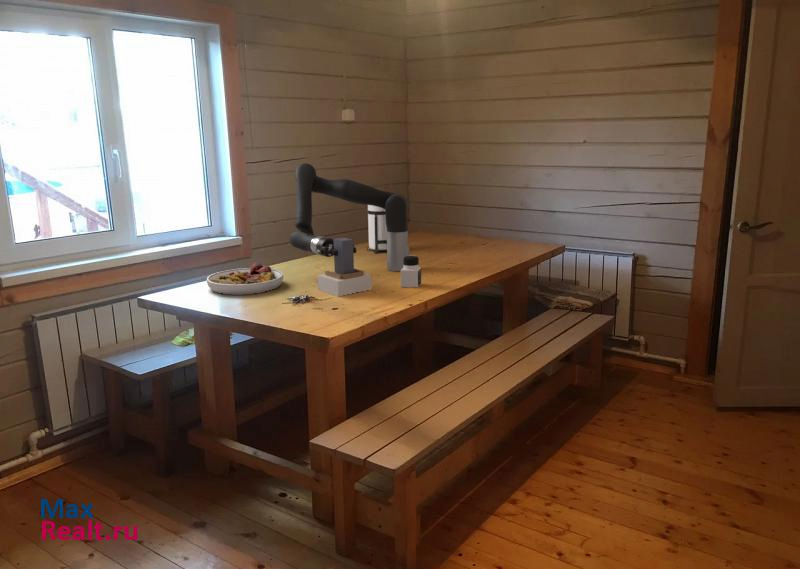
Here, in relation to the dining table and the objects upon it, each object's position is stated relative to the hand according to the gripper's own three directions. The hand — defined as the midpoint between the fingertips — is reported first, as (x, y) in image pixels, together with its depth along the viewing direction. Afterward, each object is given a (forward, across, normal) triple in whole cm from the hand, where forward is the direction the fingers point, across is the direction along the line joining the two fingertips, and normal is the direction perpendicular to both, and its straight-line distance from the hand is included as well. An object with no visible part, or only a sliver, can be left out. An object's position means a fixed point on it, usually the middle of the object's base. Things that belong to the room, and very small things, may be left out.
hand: (346, 251), depth 259 cm
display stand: (-2, 0, +16) cm, 16 cm away
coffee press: (-55, +60, +16) cm, 83 cm away
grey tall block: (-2, 0, +9) cm, 9 cm away
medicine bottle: (+10, +24, +16) cm, 30 cm away
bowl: (-33, -27, +16) cm, 46 cm away
